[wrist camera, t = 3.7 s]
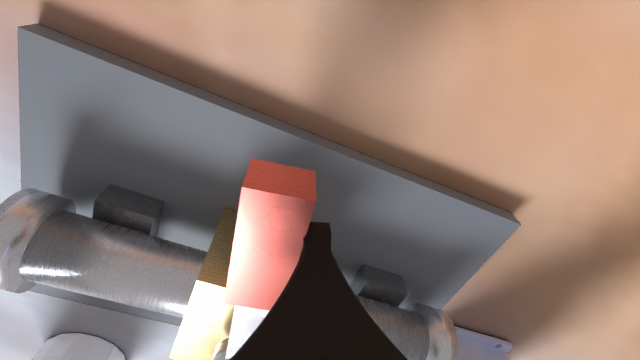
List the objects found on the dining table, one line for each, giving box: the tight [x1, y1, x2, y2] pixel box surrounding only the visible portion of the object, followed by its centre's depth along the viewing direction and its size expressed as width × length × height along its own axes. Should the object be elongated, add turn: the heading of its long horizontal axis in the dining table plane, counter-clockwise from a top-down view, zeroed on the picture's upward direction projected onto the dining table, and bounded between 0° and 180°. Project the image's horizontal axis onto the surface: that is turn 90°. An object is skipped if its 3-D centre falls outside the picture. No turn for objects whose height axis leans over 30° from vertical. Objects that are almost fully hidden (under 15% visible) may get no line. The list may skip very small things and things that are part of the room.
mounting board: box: [18, 24, 521, 326], centre depth 22 cm, size 28×18×1 cm, turn 66°
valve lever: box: [213, 158, 316, 360], centre depth 13 cm, size 12×3×2 cm, turn 166°
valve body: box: [0, 184, 459, 360], centre depth 19 cm, size 25×6×6 cm, turn 66°
